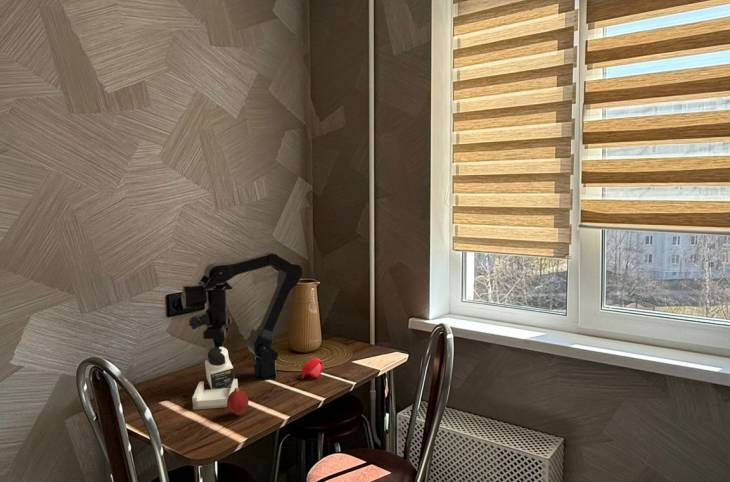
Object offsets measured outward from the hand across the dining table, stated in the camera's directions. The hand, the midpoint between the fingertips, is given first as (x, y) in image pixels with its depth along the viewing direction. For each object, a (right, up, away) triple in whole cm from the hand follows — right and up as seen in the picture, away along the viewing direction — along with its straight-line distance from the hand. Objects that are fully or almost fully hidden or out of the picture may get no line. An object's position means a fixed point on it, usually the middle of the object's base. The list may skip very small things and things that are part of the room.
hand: (218, 352), depth 181 cm
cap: (+29, -9, +6) cm, 31 cm away
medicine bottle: (0, -10, +1) cm, 10 cm away
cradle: (+2, -12, -10) cm, 16 cm away
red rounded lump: (+11, -13, -22) cm, 28 cm away
